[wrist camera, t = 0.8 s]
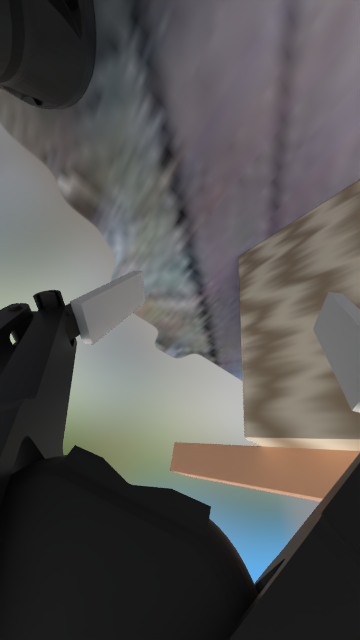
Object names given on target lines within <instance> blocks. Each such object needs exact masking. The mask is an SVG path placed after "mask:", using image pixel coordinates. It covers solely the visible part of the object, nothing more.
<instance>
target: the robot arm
mask: <svg viewBox="0 0 360 640" xmlns="http://www.w3.org/2000/svg"><path fill="white" fill-rule="evenodd" d="M95 47H96V31H95V17H94V8H93V1H92V0H0V88H2V89H3V90H5V91H7V92H9V93H10V94H12V95H14V96H16V97H17V98H19V99H21V100H23V101H24V102H26V103H28V104H31V105H33V106H36V107H39V108H44V109H63V108H67V107H70V106H72V105H73V104H75V103H76V102H77V101H78V100H79V99H80V98H81V97H82V96H83V94H84V93H85V91H86V89H87V87H88V85H89V82H90V79H91V76H92V72H93V67H94V60H95ZM33 297H34V300H35V302H36V305H37V307H38V311H37V312H36V311H31V309H30V307H29V305H28V304H26V303H20V304H18V303H16V304H11V305H9V306H7V307H5V308H3V309H1V310H0V640H360V453H359V454H358V456H357V457H356V458H355V459H354V461H353V462H352V463H351V464H350V466H349V467H348V468H347V470H346V471H345V472H344V473H343V475H342V476H341V477H340V478H339V480H338V481H337V482H336V483H335V485H334V486H333V487H332V488H331V490H330V491H329V492H328V493H327V495H326V496H325V497H324V498H323V500H322V501H321V502H320V504H319V505H318V506H317V507H316V509H315V510H314V511H313V512H312V514H311V515H310V516H309V517H308V519H307V520H306V521H305V522H304V524H303V525H302V526H301V527H300V529H299V530H298V531H297V533H296V534H295V535H294V536H293V538H292V539H291V540H290V541H289V543H288V544H287V545H286V546H285V548H284V549H283V550H282V551H281V552H280V554H279V555H278V556H277V557H276V558H275V559H274V560H273V562H272V563H271V564H270V565H269V566H268V568H267V569H266V570H265V571H264V572H263V574H262V575H261V576H260V577H259V579H258V580H257V581H256V582H255V584H254V583H253V580H252V578H251V576H250V574H249V572H248V570H247V568H246V566H245V564H244V562H243V560H242V559H241V557H240V555H239V554H238V552H237V550H236V549H235V547H234V546H233V544H232V543H231V542H230V540H229V539H228V537H227V536H226V535H225V534H224V533H223V532H222V531H221V529H220V528H219V527H218V526H217V525H216V524H215V523H214V522H213V521H211V520H210V519H209V515H210V509H211V506H208V505H206V504H204V503H202V502H200V501H197V500H195V499H193V498H191V497H188V496H186V495H184V494H182V493H179V492H177V491H175V490H173V489H168V488H158V487H147V486H137V485H131V484H129V483H127V482H126V481H125V480H124V479H123V478H122V477H121V476H120V475H119V474H118V473H117V472H116V471H115V470H114V469H113V468H112V467H111V466H110V465H109V464H108V463H107V462H106V461H105V460H104V458H102V457H100V456H98V455H95V454H93V453H91V452H89V451H86V450H84V449H82V448H80V447H78V446H76V445H75V446H74V447H73V448H72V450H71V451H70V453H69V454H68V455H63V438H64V431H65V424H66V417H67V410H68V403H69V396H70V388H71V381H72V375H73V368H74V360H75V353H76V346H77V341H76V338H75V337H77V336H78V335H80V336H81V339H82V342H83V343H87V344H91V345H93V344H94V343H95V342H97V341H98V340H99V339H101V338H102V337H103V336H104V335H106V333H108V332H109V331H110V330H112V329H113V328H114V327H115V326H116V325H118V324H119V323H120V322H122V321H123V320H124V319H125V318H126V317H128V316H129V315H130V314H131V313H133V312H134V311H135V310H136V309H137V308H139V307H140V306H141V305H142V304H144V303H145V295H144V285H143V274H142V272H141V271H132V272H130V273H128V274H126V275H124V276H122V277H120V278H118V279H116V280H114V281H112V282H110V283H108V284H106V285H103V286H101V287H99V288H97V289H95V290H93V291H91V292H89V293H87V294H85V295H83V296H81V297H79V298H77V299H74V300H73V301H70V304H68V305H66V306H65V304H64V301H63V298H62V295H61V292H60V291H58V290H49V291H43V292H39V293H37V294H35V295H34V296H33ZM313 330H314V333H315V335H316V337H317V339H318V341H319V343H320V345H321V347H322V349H323V351H324V353H325V355H326V358H327V360H328V362H329V364H330V366H331V368H332V370H333V372H334V374H335V376H336V378H337V380H338V382H339V385H340V387H341V389H342V391H343V393H344V395H345V397H346V399H347V401H348V403H349V405H350V407H351V409H352V411H355V412H359V413H360V309H359V308H358V307H357V306H356V305H355V304H353V303H352V302H351V301H350V300H349V299H348V298H347V297H346V296H345V295H344V294H343V293H333V292H328V294H327V297H326V299H325V301H324V304H323V306H322V308H321V311H320V313H319V316H318V318H317V320H316V323H315V325H314V328H313ZM10 334H12V335H13V338H14V340H15V341H16V342H15V343H14V344H12V343H11V341H10Z"/></svg>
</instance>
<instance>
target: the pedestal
mask: <svg viewBox="0 0 360 640" xmlns="http://www.w3.org/2000/svg"><path fill="white" fill-rule="evenodd" d="M239 286H240V316H241V346H242V376H243V405H244V433H245V434H244V435H245V438H247V439H248V440H250V441H252V442H254V443H256V444H258V445H260V446H263V447H284V448H306V449H327V450H349V451H360V413H359V412H355V411H352V409H351V407H350V405H349V403H348V401H347V399H346V397H345V395H344V393H343V391H342V389H341V387H340V385H339V382H338V380H337V378H336V376H335V374H334V372H333V370H332V368H331V366H330V364H329V362H328V360H327V358H326V355H325V353H324V351H323V349H322V347H321V345H320V343H319V341H318V339H317V337H316V335H315V333H314V330H313V328H314V325H315V323H316V320H317V318H318V316H319V313H320V311H321V308H322V306H323V304H324V301H325V299H326V297H327V294H328V292H333V293H343V294H344V295H345V296H346V297H347V298H348V299H349V300H350V301H351V302H352V303H353V304H355V305H356V306H357V307H358V308H359V309H360V180H359V181H357V182H355V183H354V184H352V185H351V186H349V187H348V188H346V189H344V190H343V191H341V192H340V193H338V194H337V195H335V196H333V197H332V198H330V199H329V200H327V201H326V202H324V203H322V204H321V205H319V206H318V207H316V208H315V209H313V210H311V211H310V212H308V213H307V214H305V215H304V216H302V217H300V218H299V219H297V220H296V221H294V222H293V223H291V224H289V225H288V226H286V227H285V228H283V229H282V230H280V231H278V232H277V233H275V234H274V235H272V236H271V237H269V238H267V239H266V240H264V241H263V242H261V243H260V244H258V245H256V246H255V247H253V248H252V249H250V250H249V251H247V252H245V253H244V254H242V255H241V256H239Z"/></svg>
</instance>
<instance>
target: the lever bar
mask: <svg viewBox="0 0 360 640" xmlns="http://www.w3.org/2000/svg"><path fill="white" fill-rule="evenodd" d="M359 453H360V451H349V450H327V449H306V448H284V447H263V446H241V445H219V444H199V443H177V442H175V444H174V449H173V455H172V461H171V467H170V471H173V472H177V473H180V474H183V475H187V476H190V477H195V478H201V479H206V480H211V481H216V482H221V483H226V484H231V485H237V486H242V487H247V488H252V489H257V490H263V491H268V492H273V493H278V494H283V495H288V496H294V497H299V498H304V499H309V500H314V501H319V502H321V501H322V500H323V498H324V497H325V496H326V495H327V493H328V492H329V491H330V490H331V488H332V487H333V486H334V485H335V483H336V482H337V481H338V480H339V478H340V477H341V476H342V475H343V473H344V472H345V471H346V470H347V468H348V467H349V466H350V464H351V463H352V462H353V461H354V459H355V458H356V457H357V456H358V454H359Z"/></svg>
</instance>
